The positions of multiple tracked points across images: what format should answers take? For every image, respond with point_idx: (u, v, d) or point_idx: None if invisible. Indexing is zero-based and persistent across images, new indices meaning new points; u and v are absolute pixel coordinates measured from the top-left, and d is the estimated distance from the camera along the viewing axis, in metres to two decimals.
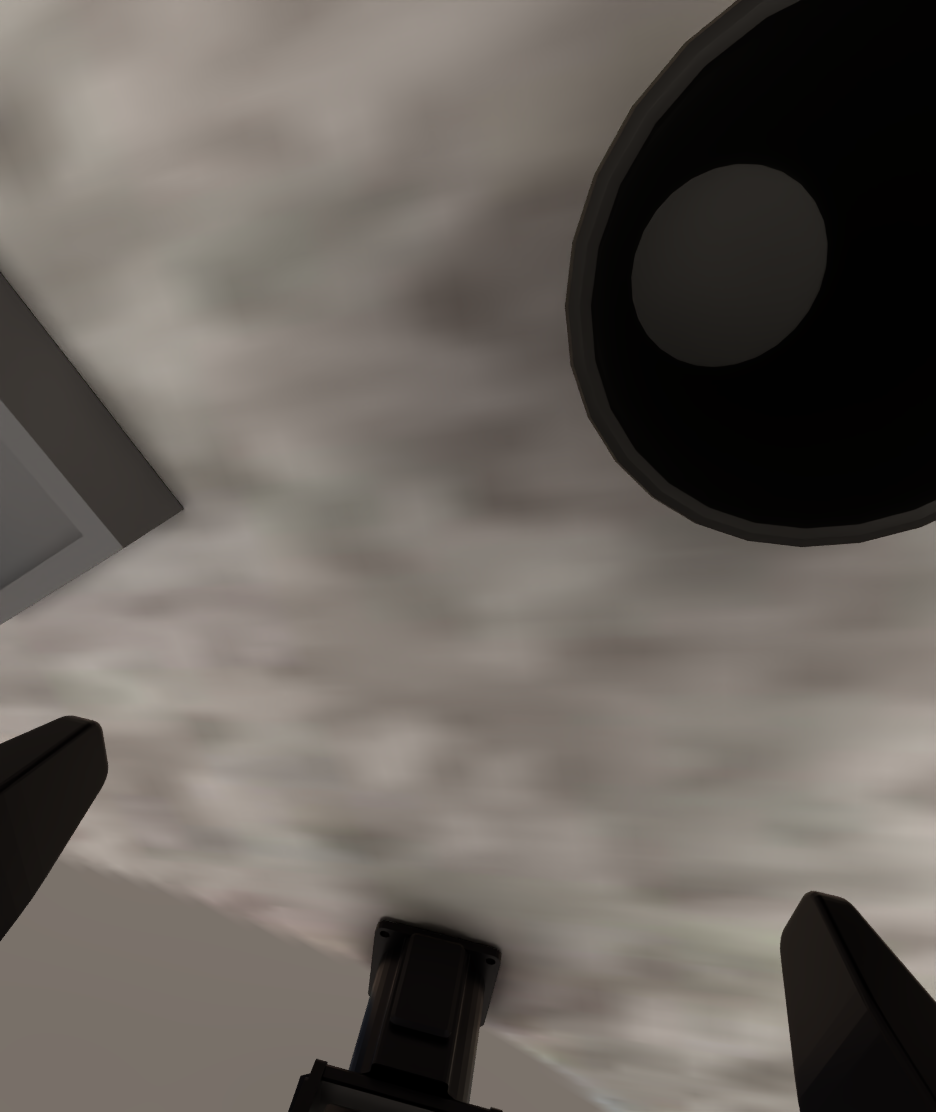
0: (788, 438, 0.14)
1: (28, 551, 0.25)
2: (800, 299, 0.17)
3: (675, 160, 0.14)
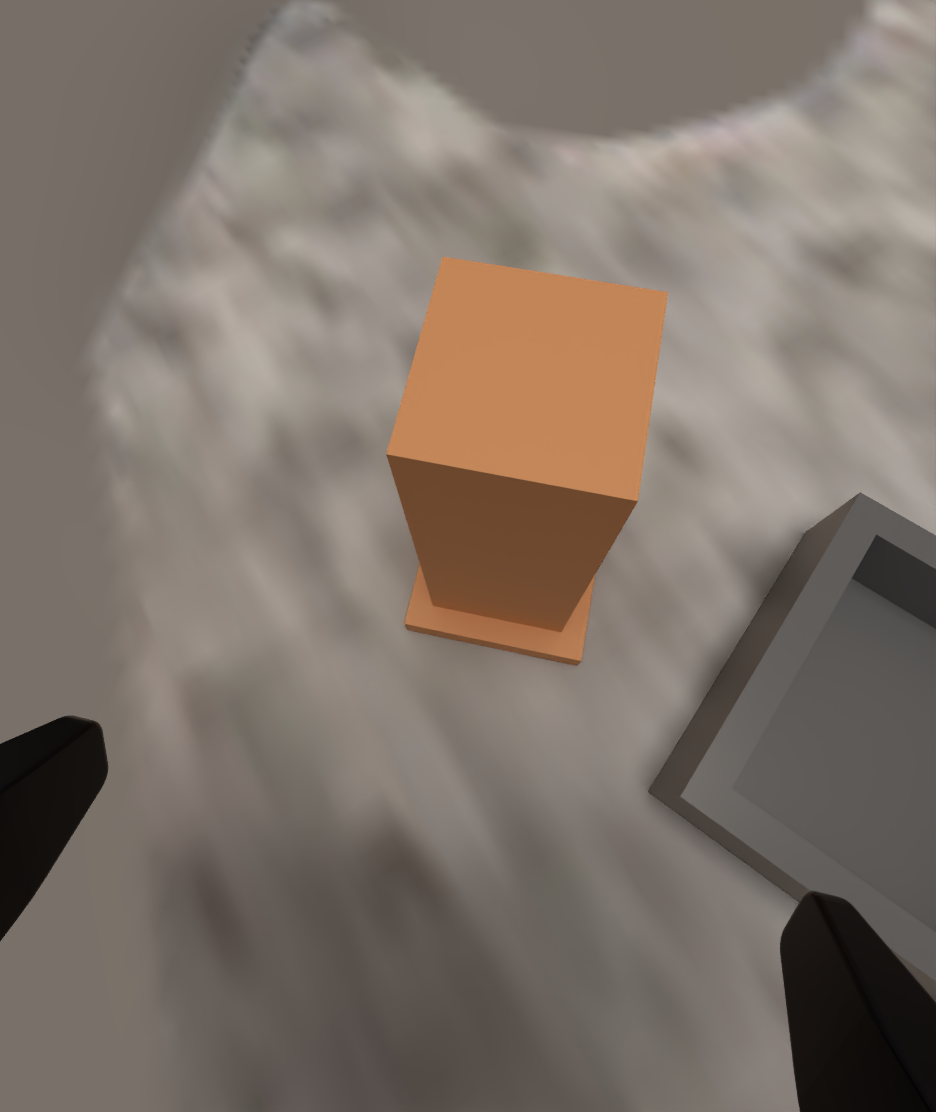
0: None
1: (799, 827, 0.19)
2: None
3: None
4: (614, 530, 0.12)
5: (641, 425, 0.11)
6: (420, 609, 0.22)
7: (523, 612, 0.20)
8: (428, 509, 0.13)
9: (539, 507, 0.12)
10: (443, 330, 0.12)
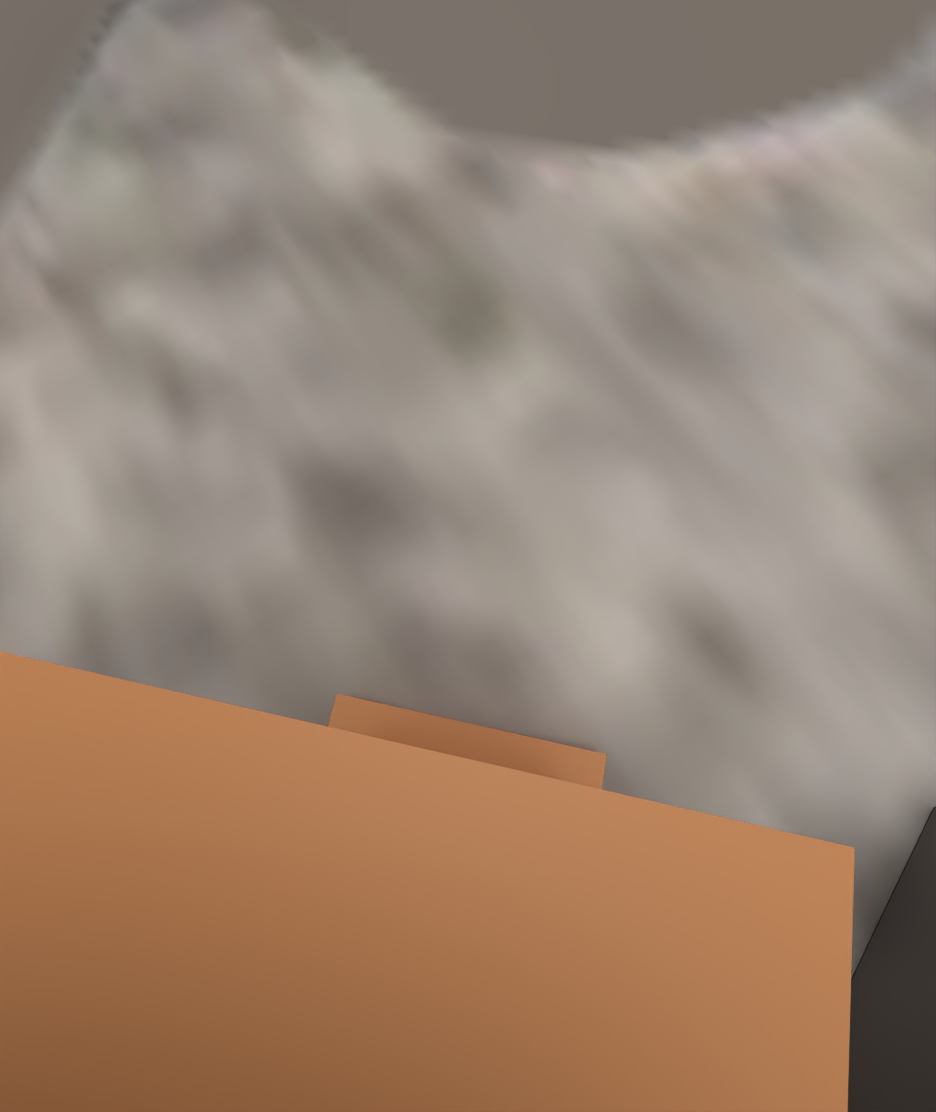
0: None
1: None
2: None
3: None
4: None
5: None
6: None
7: None
8: None
9: None
10: None
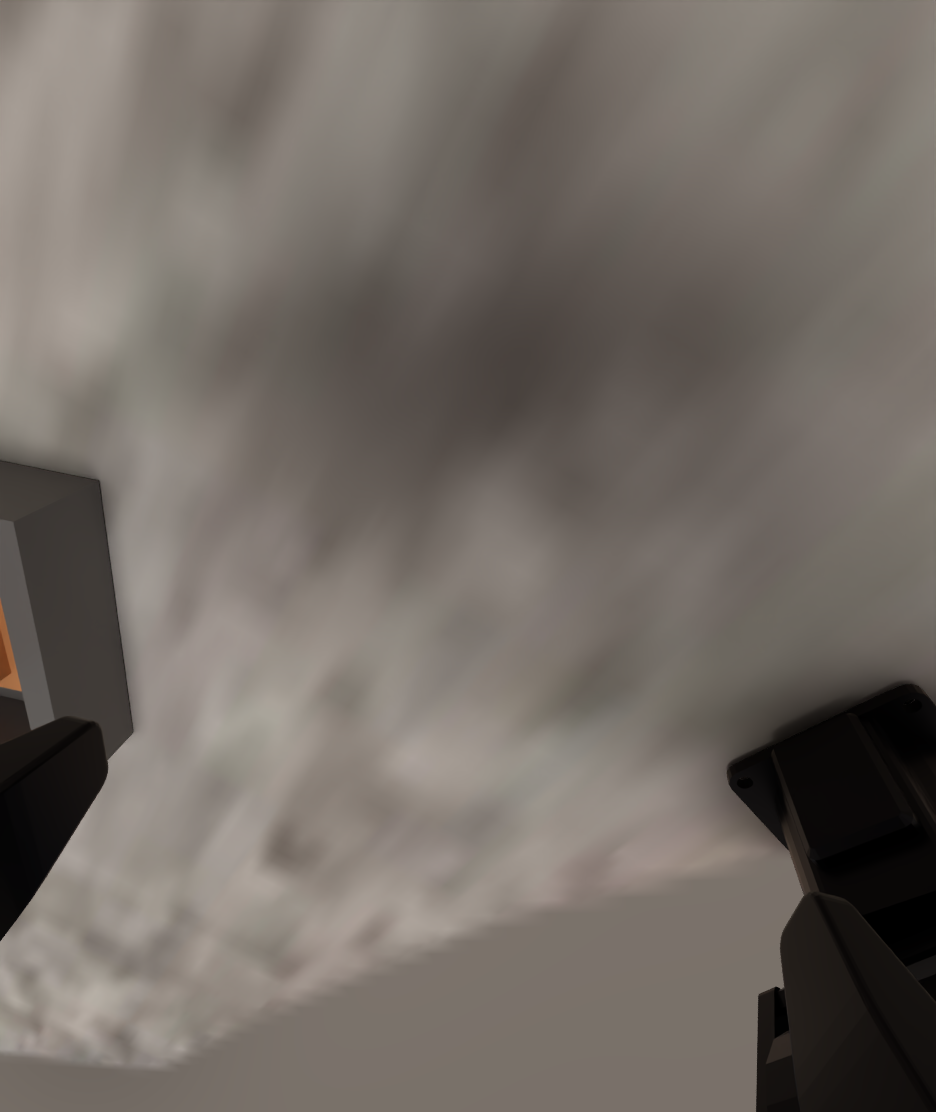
0: None
1: None
2: None
3: None
4: None
5: None
6: (18, 682, 0.23)
7: None
8: None
9: None
10: None
